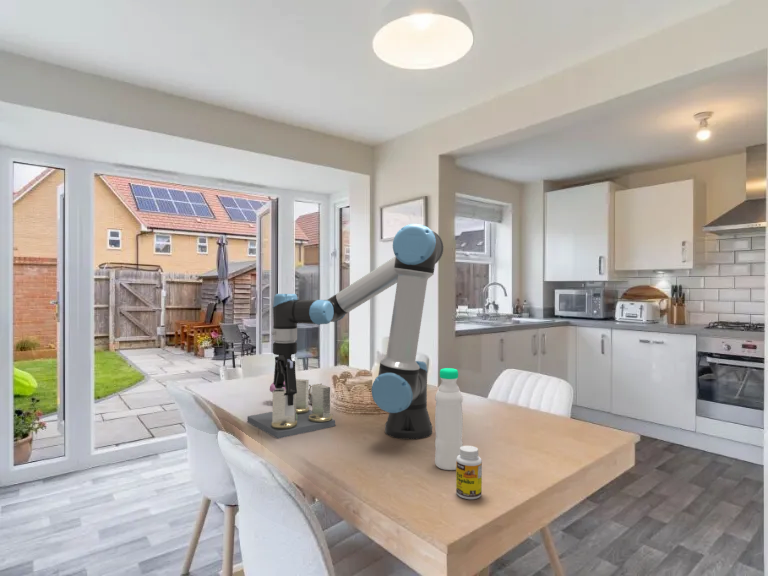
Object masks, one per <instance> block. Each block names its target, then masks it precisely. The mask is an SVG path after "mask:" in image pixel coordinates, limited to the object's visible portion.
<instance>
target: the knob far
mask: <svg viewBox="0 0 768 576" xmlns="http://www.w3.org/2000/svg"><path fill="white" fill-rule="evenodd" d="M309 381H310V380H309V379H301V378H300V379H299V378H296V387H297V393H296V414H300V413H305V412H308V411H309V410H310V406H309V399H308V397H309V388H310V386H309V385H310V384H309V383H310V382H309Z"/></svg>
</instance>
